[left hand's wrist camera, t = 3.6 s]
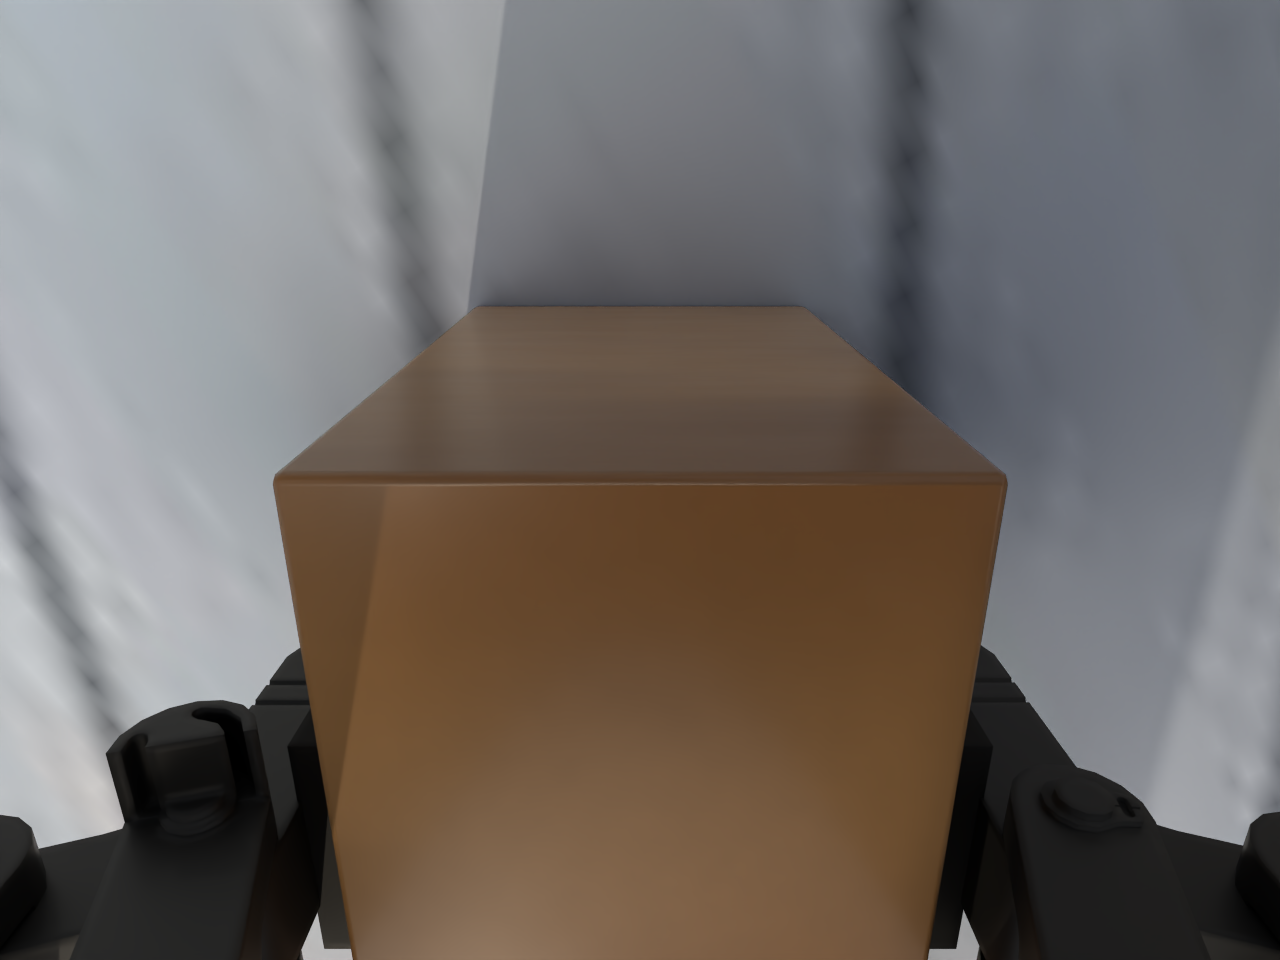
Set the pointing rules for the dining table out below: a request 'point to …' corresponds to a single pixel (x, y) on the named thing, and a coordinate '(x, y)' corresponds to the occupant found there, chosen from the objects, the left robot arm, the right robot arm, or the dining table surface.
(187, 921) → the left robot arm
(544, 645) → the bar
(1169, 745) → the dining table surface
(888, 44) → the dining table surface
